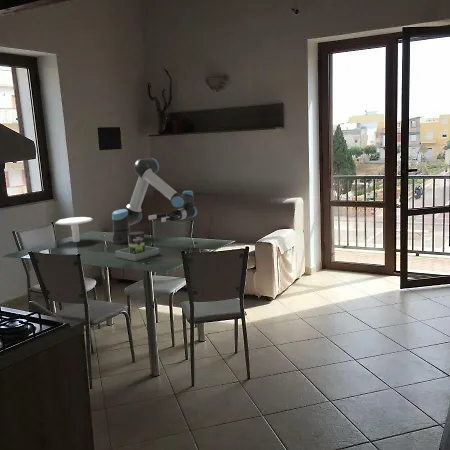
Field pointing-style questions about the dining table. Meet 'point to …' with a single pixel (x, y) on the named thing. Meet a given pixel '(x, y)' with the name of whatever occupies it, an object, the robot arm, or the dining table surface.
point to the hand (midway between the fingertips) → (155, 218)
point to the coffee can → (136, 242)
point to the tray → (135, 257)
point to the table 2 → (74, 225)
